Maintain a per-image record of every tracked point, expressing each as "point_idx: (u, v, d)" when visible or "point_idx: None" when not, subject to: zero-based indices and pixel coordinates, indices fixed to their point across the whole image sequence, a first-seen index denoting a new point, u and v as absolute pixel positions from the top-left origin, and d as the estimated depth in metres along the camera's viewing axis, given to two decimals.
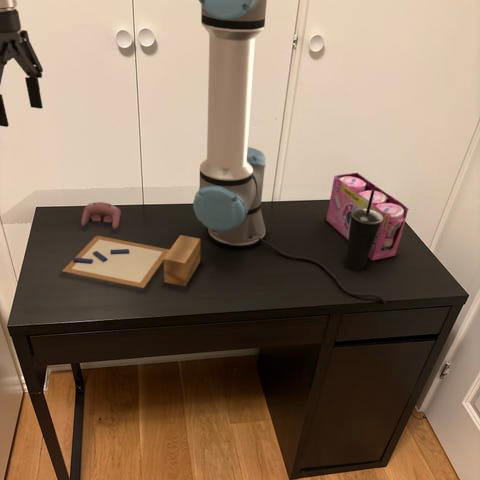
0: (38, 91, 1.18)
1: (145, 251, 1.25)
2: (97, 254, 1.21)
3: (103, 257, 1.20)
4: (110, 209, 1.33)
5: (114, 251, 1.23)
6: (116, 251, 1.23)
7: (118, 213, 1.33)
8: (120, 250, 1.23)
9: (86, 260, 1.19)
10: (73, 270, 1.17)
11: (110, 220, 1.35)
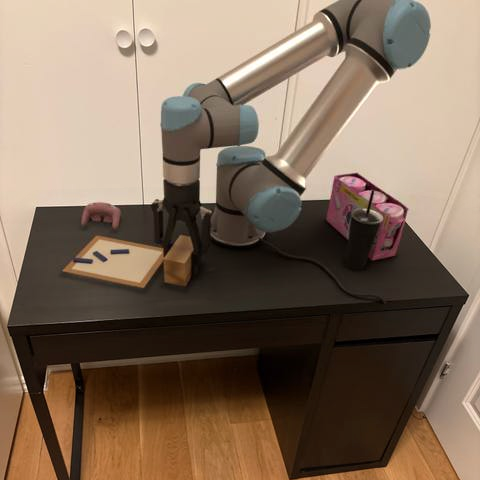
0: (192, 264, 1.15)
1: (145, 251, 1.25)
2: (97, 254, 1.21)
3: (103, 257, 1.20)
4: (110, 209, 1.33)
5: (114, 251, 1.23)
6: (116, 251, 1.23)
7: (118, 213, 1.33)
8: (120, 250, 1.23)
9: (86, 260, 1.19)
10: (73, 270, 1.17)
11: (110, 220, 1.35)
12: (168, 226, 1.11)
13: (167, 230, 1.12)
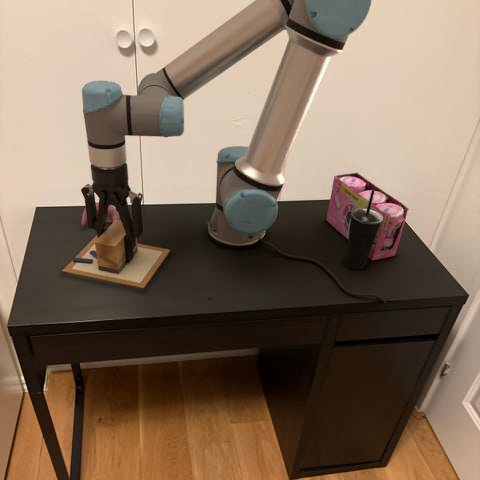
0: (125, 248, 1.17)
1: (145, 251, 1.25)
2: (94, 253, 1.21)
3: None
4: (110, 209, 1.33)
5: None
6: None
7: (118, 213, 1.33)
8: None
9: (86, 260, 1.19)
10: (73, 270, 1.17)
11: (110, 220, 1.35)
12: (99, 211, 1.12)
13: (99, 215, 1.13)
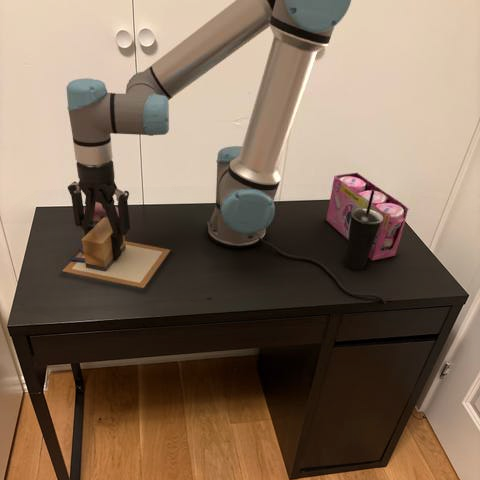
0: (112, 246, 1.17)
1: (145, 251, 1.25)
2: None
3: None
4: None
5: None
6: None
7: (118, 213, 1.33)
8: None
9: (84, 260, 1.19)
10: (73, 270, 1.17)
11: None
12: (86, 208, 1.13)
13: (85, 212, 1.14)
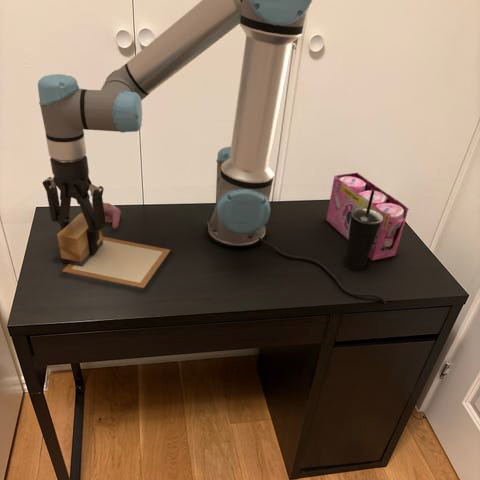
0: (88, 241, 1.18)
1: (145, 251, 1.25)
2: None
3: None
4: (110, 209, 1.33)
5: None
6: None
7: (118, 213, 1.33)
8: None
9: None
10: (73, 270, 1.17)
11: (110, 220, 1.35)
12: (61, 203, 1.14)
13: (61, 208, 1.15)
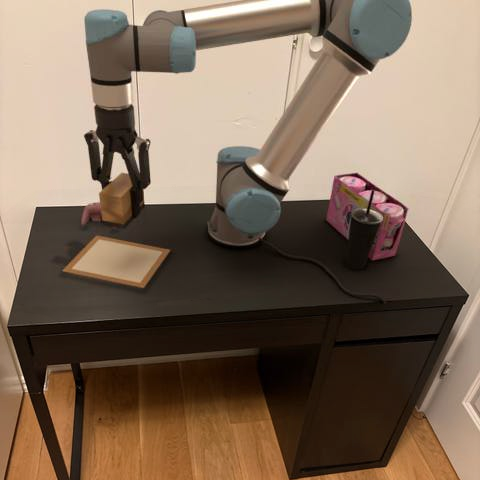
0: (132, 202, 1.09)
1: (145, 251, 1.25)
2: None
3: None
4: None
5: None
6: None
7: None
8: None
9: None
10: (73, 270, 1.17)
11: None
12: (104, 159, 1.04)
13: (103, 164, 1.05)
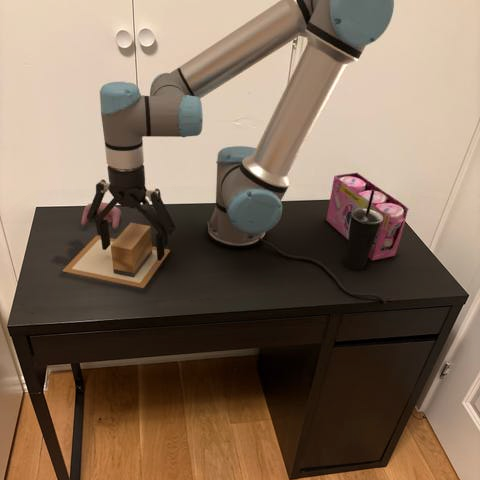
0: (157, 246, 1.14)
1: None
2: None
3: None
4: None
5: None
6: None
7: (118, 213, 1.33)
8: None
9: None
10: (73, 270, 1.17)
11: (110, 220, 1.35)
12: (107, 206, 1.11)
13: (105, 210, 1.12)
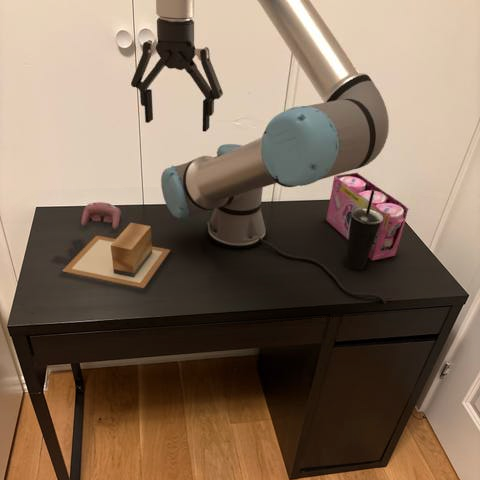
0: (204, 113, 1.11)
1: None
2: None
3: None
4: (110, 209, 1.33)
5: None
6: None
7: (118, 213, 1.33)
8: None
9: None
10: (73, 270, 1.17)
11: (110, 220, 1.35)
12: (154, 69, 1.08)
13: (150, 73, 1.09)
